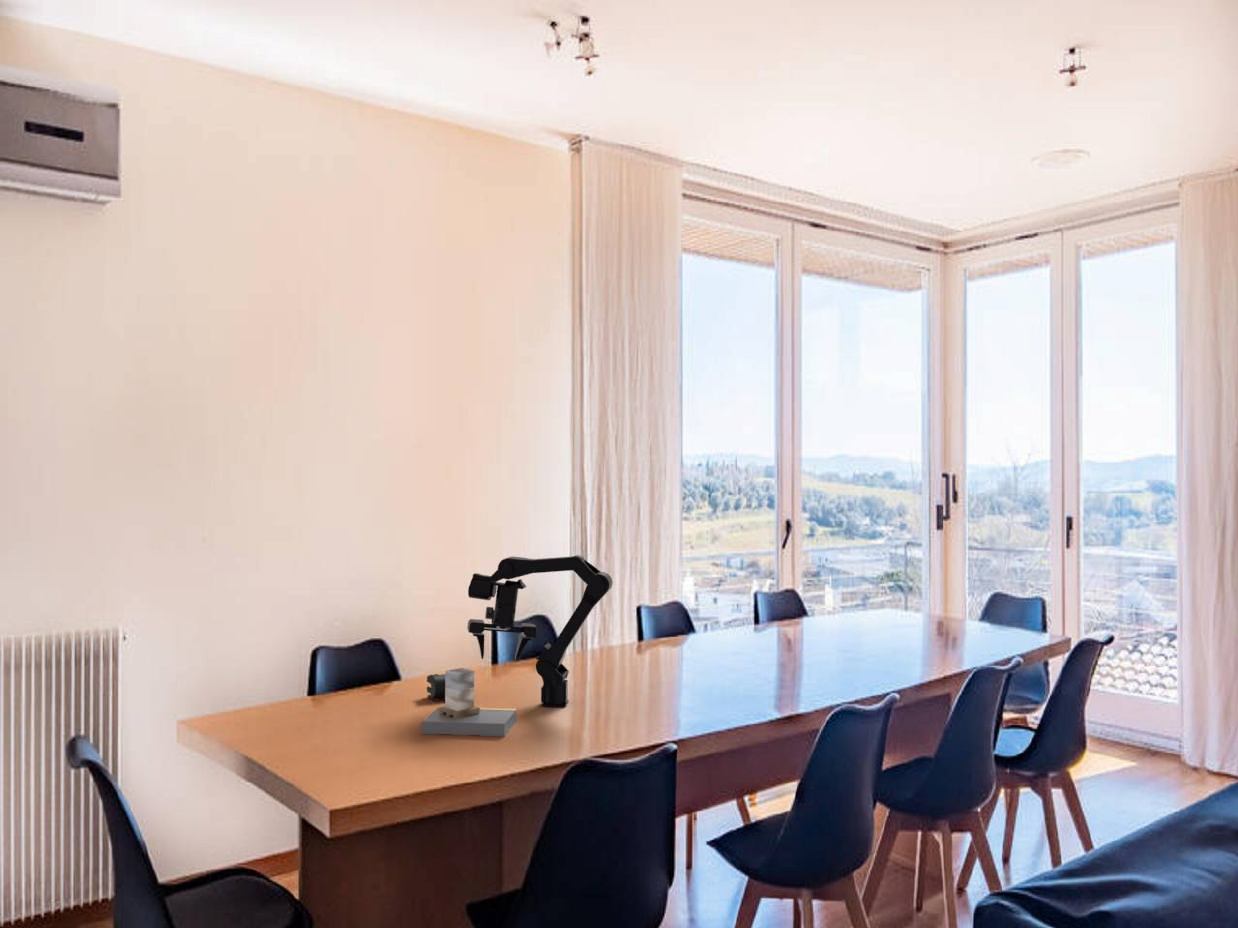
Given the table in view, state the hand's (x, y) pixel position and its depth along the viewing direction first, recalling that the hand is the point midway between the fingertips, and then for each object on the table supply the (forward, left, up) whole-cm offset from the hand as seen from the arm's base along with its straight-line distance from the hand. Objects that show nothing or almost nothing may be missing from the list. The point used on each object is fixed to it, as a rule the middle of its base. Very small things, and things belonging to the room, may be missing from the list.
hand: (499, 659), depth 254 cm
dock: (+1, +26, -12) cm, 29 cm away
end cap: (+15, -3, -12) cm, 20 cm away
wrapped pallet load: (+4, +25, -9) cm, 27 cm away
